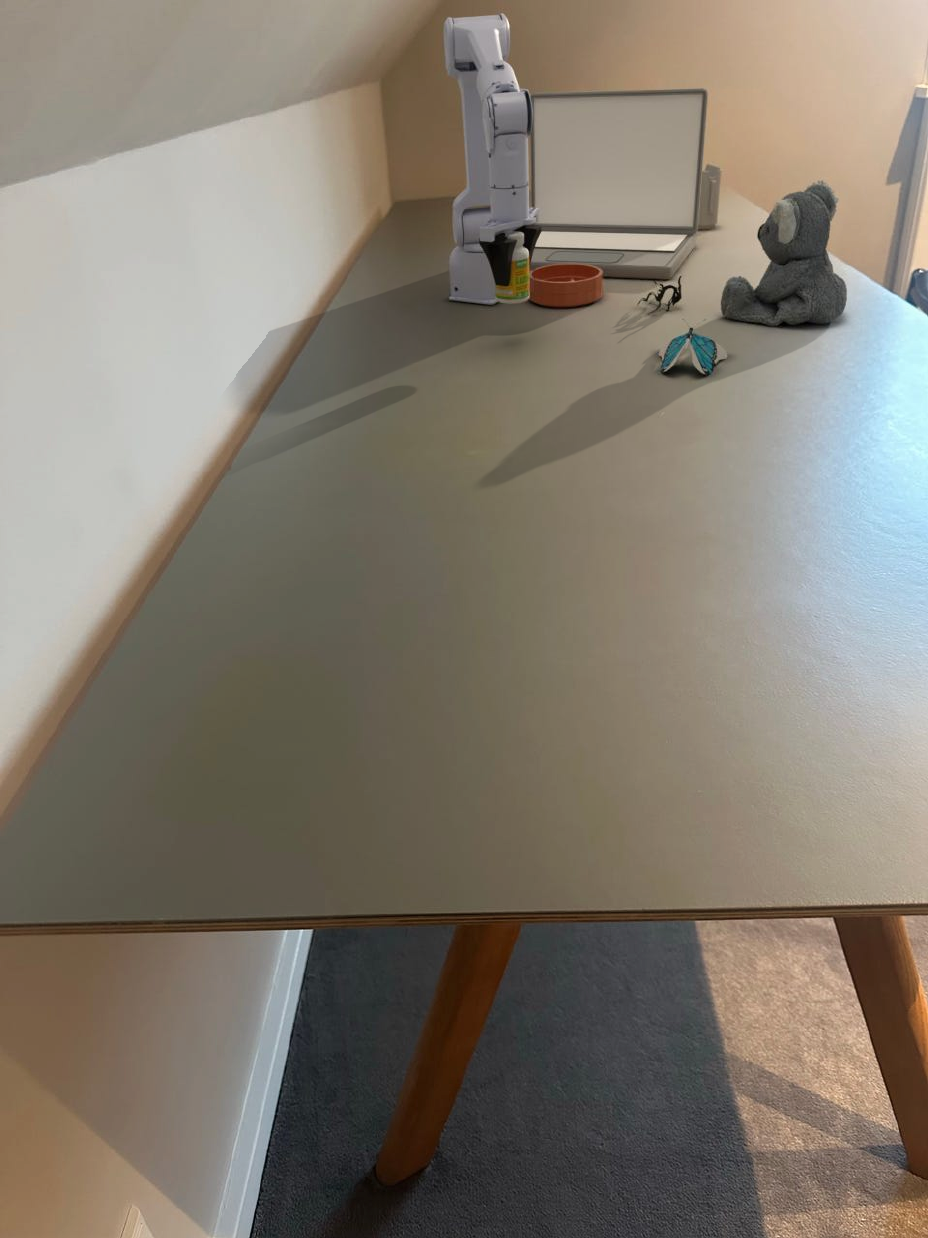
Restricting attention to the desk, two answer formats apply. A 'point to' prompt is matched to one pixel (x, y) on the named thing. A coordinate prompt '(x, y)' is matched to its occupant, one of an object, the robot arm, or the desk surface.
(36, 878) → the desk surface
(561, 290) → the bowl
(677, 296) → the creature
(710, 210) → the cable organizer
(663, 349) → the decorative butterfly
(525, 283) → the supplement bottle
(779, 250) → the koala plush
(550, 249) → the laptop
